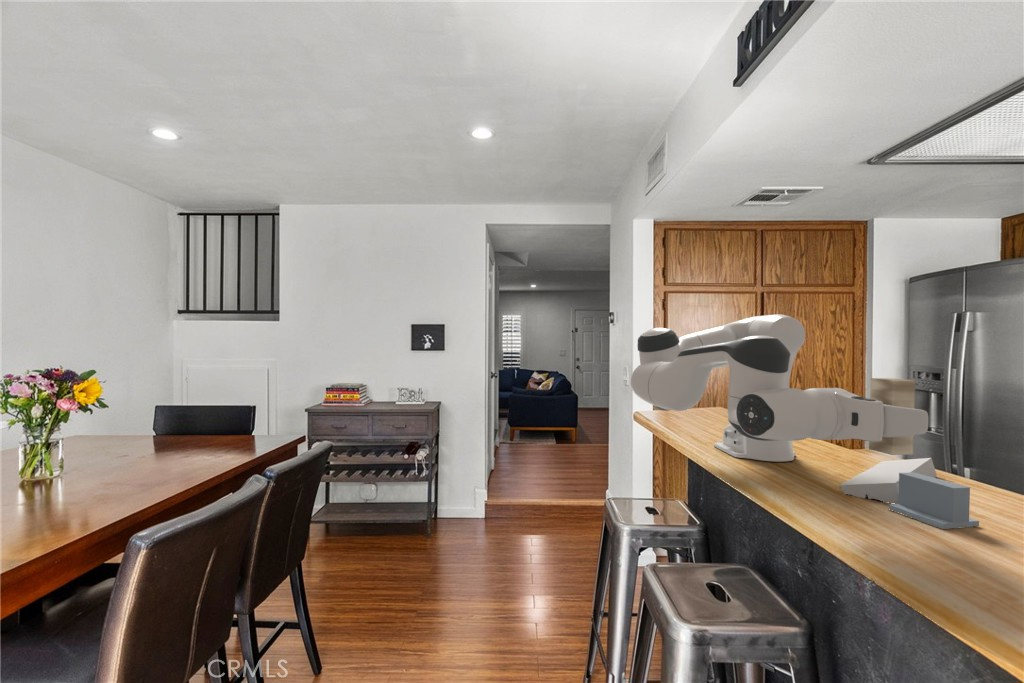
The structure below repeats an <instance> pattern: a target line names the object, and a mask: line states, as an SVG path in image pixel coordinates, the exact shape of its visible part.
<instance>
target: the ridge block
mask: <svg viewBox="0 0 1024 683" xmlns="http://www.w3.org/2000/svg"><path fill="white" fill-rule="evenodd" d="M970 497H971V487H969V486H966V485H963V484H959V483H956V482H955V483H954V482H950V481H948V480H945V479H944V480H943V479H940V478H937V477H935V478H933V477H930V476H926V475H922V474H918V473H915V472H910V473H899V498H898V504H888V510H889V509H890V510H893V511H896V512H899V513H902V514H904V515H907V516H909V517H908V518H910V517H912V518H915V519H917V520H916V521H918V520H919V522H921V521H922V522H921V523H923V522H925V523H924V524H926V523H927V524H926V525H929V524H930V526H932V525H933V526H932V527H935V528H937V527H938V529H940V528H941V529H940V530H950V529H949V528H954V529H960V528H959V527H967V528H974V527H973V526H979V527H980V521H979V519H978V520H977V519H976V518H972V517H970V502H971V501H970V499H971V498H970ZM890 510H889V511H890ZM893 511H892V512H893ZM896 512H895V513H896ZM899 513H898V514H899ZM904 515H903V516H904ZM907 516H906V517H907ZM912 518H911V519H912ZM915 519H914V520H915Z"/></svg>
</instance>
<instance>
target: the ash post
mask: <svg viewBox="0 0 1024 683" xmlns="http://www.w3.org/2000/svg"><path fill="white" fill-rule="evenodd" d="M915 396H916V380H913V379H906V378H905V379H903V378H894V377H886V378H885V377H881V378H880V377H870V398H869V399H873V400H876V401H881V402H883V404H886V405H892V406H899V407H906V408H914V409H915V401H916V400H915V399H916V398H915ZM914 437H915V435H913V436H904V437H882V441H868V450H870V451H874V452H878V453H882V454H886V455H890V456H901V455H902V456H904V455H905V456H906V455H907V456H908V455H914Z"/></svg>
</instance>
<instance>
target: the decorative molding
mask: <svg viewBox="0 0 1024 683" xmlns="http://www.w3.org/2000/svg"><path fill="white" fill-rule="evenodd" d="M910 472H915V473H918V474H922V475H926V476H930V477H933V478H937V471H936V468H935V465H934V462H933V458H932V457H924V458H910V459H909V458H908V459H896V460H895V459H894V460H883V461H881V462H879V463H877V464H876V465H873V466H872V467H869V468H868V469H866V470H864V471H863V472H861V473H859V474H857V475H855V476H854V477H852V478H850V479H848V480H846V481H845V482H843V483H840V484H839V487H840V489H841V491H842V493H843V495H846V494H848V495H852V496H853V497H857V498H860V499H866V498H868V500H873V499H874V500H878V501H881V502H882V501H883V502H882V503H884V502H889V503H895V504H898V498H899V473H910ZM848 495H847V496H848ZM889 503H888V504H889Z"/></svg>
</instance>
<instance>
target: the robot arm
mask: <svg viewBox="0 0 1024 683" xmlns="http://www.w3.org/2000/svg"><path fill="white" fill-rule="evenodd" d="M805 340H806V329H805V327H804V325H803V324H802V322H801V321H799V320H798V319H797V318H794V317H792V316H790V315H786V314H783V313H782V314H780V313H779V314H777V313H776V314H766V315H756V316H755V315H754V316H751V317H747V318H743V319H740V320H736V321H734V322H729V323H727V324H724V325H721V326H720V325H719V326H717V327H712V328H709V329H703V330H701V331H696V332H693V333H689V334H685V335H682V336H680V337H679V336H678V335H677V333H676V332H675V331H674V330H672V329H671V328H668V327H666V328H665V327H654V328H651V329H649V330H647V331H644V332H643V333H641V334H640V335H639V337H638V338H637V351H638V353H639V362H640V363H639V364H640V365H637V366H636V368H634V370H633V372H632V374H631V377H630V387H631V390H632V391H633V392H634V395H636V397H638V398H640V399H641V400H643V401H644V402H646V403H648V404H650V405H652V406H653V407H654V408H656V409H658V410H659V411H674V412H683V411H687V410H689V409H691V408H693V407H694V406H695V405H697V404H698V403H699V401H701V399H702V398H703V396H704V394H705V391H706V389H707V388H706V387H707V384H708V380H709V377H710V375H711V372H712V370H715V369H720V368H724V367H725V368H726V367H727V366H728V367H729V379H728V382H729V383H728V394H727V421H728V423H729V424H727V425H726V426H725V427H724V429H723V433H722V441H716V442H714V444H713V446H714V447H715V448H717V449H718V450H721V451H722V452H723V453H724V452H725V453H726V454H728V455H730V456H731V457H734V458H741V459H748V460H749V459H751V460H755V461H756V460H757V461H764V462H781V463H782V462H790V461H794V460H795V456H796V451H794V446H793V441H804V440H806V439H808V438H809V439H811V440H819V441H821V440H822V441H824V440H825V441H826V440H837V441H839V440H858V441H864V442H865V441H866V442H869V441H882V437H904V436H913V435H914V436H919V435H920V436H921V435H925V434H926V433H927V432H928V430H929V413H928V411H926V410H925V409H919V408H915V407H914V408H906V407H899V406H892V405H886V404H883V402H881V401H876V400H873V399H870V398H867V397H864V396H860V395H857V394H855V393H852V392H849V391H848V390H846V389H844V388H840V387H812V388H811V387H810V388H805V389H804V390H803V389H799V388H795V387H794V388H793V387H792V388H791V387H790V379H791V373H792V369H793V366H794V363H795V359H796V356H797V353H798V352H799V349H800V348H802V346H803V344H804V343H805Z"/></svg>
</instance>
